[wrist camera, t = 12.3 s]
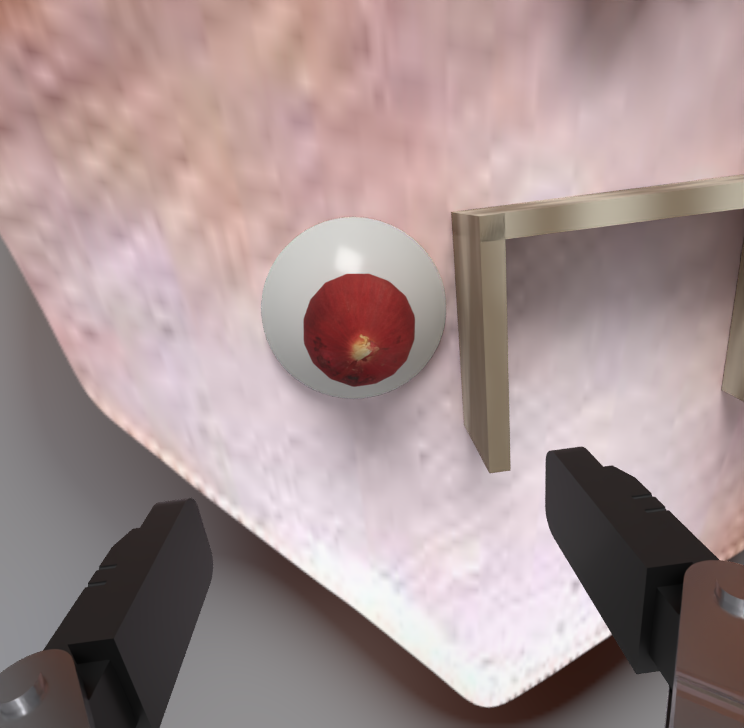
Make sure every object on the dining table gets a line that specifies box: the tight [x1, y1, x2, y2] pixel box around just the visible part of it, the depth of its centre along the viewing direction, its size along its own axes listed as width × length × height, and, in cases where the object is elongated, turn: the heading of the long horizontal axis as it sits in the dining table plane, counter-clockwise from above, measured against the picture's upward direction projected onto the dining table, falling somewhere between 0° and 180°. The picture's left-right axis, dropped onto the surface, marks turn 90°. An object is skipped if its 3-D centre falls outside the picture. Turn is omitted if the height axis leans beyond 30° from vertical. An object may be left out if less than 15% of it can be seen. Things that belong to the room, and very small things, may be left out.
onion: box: [303, 274, 415, 387], centre depth 24 cm, size 6×6×8 cm
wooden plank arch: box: [451, 174, 744, 473], centre depth 27 cm, size 19×14×6 cm
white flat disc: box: [261, 217, 446, 399], centre depth 28 cm, size 11×11×1 cm
